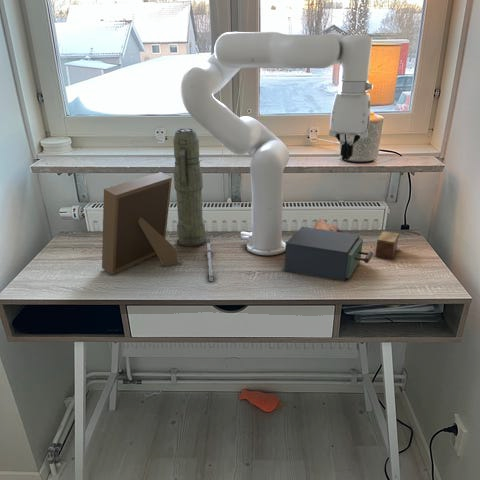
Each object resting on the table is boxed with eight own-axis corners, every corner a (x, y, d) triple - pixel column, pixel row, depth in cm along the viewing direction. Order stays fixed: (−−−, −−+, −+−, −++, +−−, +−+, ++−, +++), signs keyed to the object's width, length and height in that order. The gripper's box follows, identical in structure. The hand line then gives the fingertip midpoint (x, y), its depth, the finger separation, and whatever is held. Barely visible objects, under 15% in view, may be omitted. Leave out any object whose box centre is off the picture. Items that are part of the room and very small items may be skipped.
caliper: (206, 253, 162) (206, 234, 159) (210, 253, 163) (209, 234, 159) (209, 281, 145) (208, 260, 142) (213, 281, 145) (212, 260, 142)
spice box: (375, 256, 159) (377, 239, 157) (380, 247, 166) (382, 231, 163) (391, 259, 158) (394, 242, 155) (396, 249, 164) (398, 233, 161)
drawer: (374, 262, 153) (377, 240, 150) (364, 280, 143) (366, 257, 139) (307, 252, 161) (308, 231, 157) (292, 268, 150) (293, 246, 147)
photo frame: (102, 271, 152) (89, 185, 139) (154, 247, 167) (146, 169, 154) (138, 283, 144) (128, 194, 132) (189, 258, 159) (184, 176, 147)
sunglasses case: (339, 247, 164) (329, 229, 162) (319, 257, 167) (309, 239, 165) (339, 228, 180) (330, 211, 177) (321, 237, 182) (312, 221, 180)
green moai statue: (175, 247, 167) (167, 133, 149) (180, 234, 177) (173, 126, 160) (203, 248, 166) (198, 133, 149) (206, 234, 177) (202, 126, 159)
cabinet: (356, 261, 156) (359, 234, 152) (344, 281, 145) (347, 252, 140) (300, 252, 162) (302, 226, 158) (284, 270, 151) (285, 242, 147)
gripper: (384, 87, 138) (375, 158, 147) (329, 85, 143) (324, 153, 152) (378, 90, 132) (369, 164, 141) (321, 88, 137) (316, 159, 146)
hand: (346, 158), depth 146 cm, fingers closed
